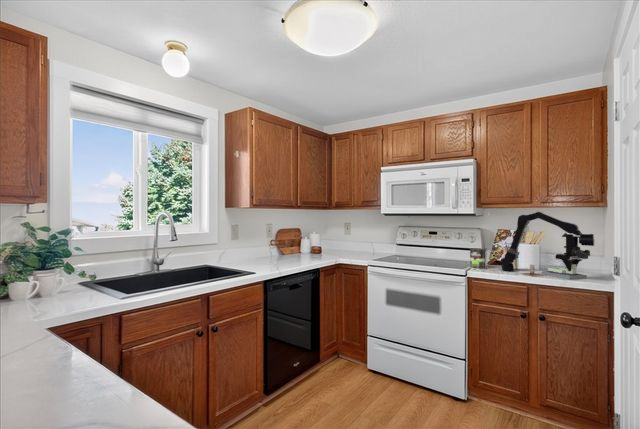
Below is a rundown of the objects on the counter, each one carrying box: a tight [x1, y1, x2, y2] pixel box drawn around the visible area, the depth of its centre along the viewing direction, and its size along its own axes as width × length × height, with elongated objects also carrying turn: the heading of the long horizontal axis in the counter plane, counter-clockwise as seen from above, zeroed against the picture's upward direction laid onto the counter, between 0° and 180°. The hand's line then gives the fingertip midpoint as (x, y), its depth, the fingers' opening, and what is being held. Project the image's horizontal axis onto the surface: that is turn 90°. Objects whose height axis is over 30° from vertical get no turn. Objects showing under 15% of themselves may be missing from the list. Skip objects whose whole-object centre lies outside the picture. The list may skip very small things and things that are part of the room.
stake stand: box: [517, 264, 547, 278], centre depth 206 cm, size 11×11×7 cm
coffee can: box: [469, 247, 487, 271], centre depth 235 cm, size 10×10×14 cm
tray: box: [541, 270, 588, 281], centre depth 200 cm, size 18×14×3 cm
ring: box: [547, 264, 577, 274], centre depth 200 cm, size 13×9×6 cm
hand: (571, 270), depth 195 cm, fingers closed on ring, 3 cm apart
